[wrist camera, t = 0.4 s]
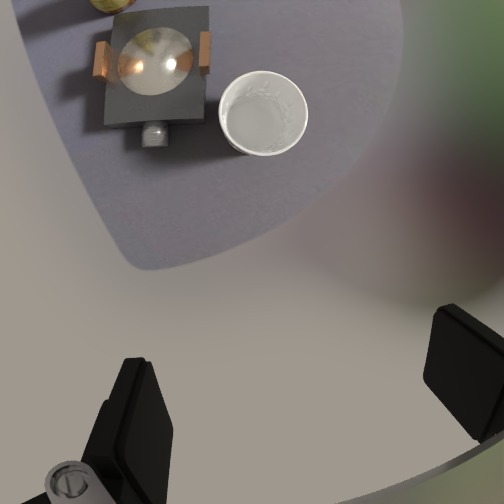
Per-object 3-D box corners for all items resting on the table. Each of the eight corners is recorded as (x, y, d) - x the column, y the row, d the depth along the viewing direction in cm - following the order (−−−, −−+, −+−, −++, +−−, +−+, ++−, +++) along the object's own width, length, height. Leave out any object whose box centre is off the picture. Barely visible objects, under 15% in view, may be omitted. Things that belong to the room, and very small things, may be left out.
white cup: (227, 166, 37) (231, 165, 27) (211, 103, 35) (209, 81, 25) (292, 150, 37) (317, 145, 27) (275, 89, 35) (295, 64, 25)
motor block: (119, 27, 30) (103, 4, 24) (213, 20, 32) (213, -7, 25) (110, 150, 35) (88, 147, 28) (208, 146, 36) (206, 140, 29)
